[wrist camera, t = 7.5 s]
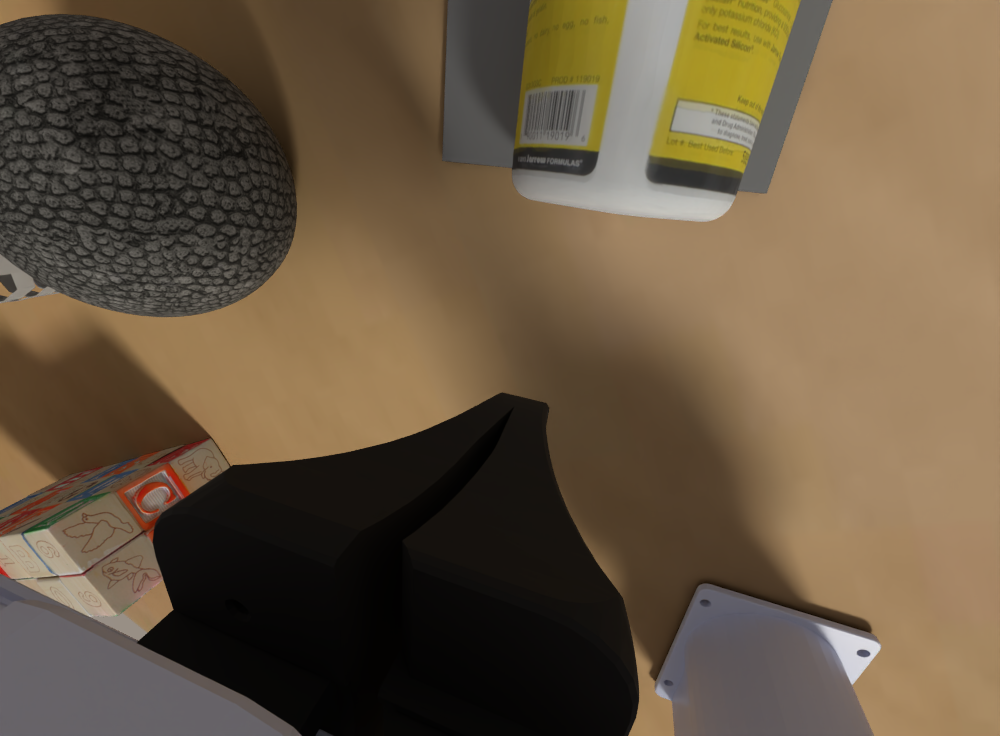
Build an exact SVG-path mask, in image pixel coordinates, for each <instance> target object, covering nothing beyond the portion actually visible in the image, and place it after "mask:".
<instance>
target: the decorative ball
mask: <svg viewBox="0 0 1000 736" xmlns="http://www.w3.org/2000/svg"><path fill="white" fill-rule="evenodd" d="M296 217H297V202H296V192H295V186H294V182H293V177H292V173H291V170H290V167H289V164H288V161H287V159H286V156H285V154H284V152H283V150H282V147H281V145H280V143H279V141H278V140H277V138H276V136H275V134H274V133H273V131H272V129H271V128H270V126H269V125H268V123H267V122H266V120H265V119H264V118H263V116H262V115H261V113H260V112H259V111H258V110H257V108H256V107H255V106H254V105H253V103H252V102H251V101H250V100H249V99H248V98H247V97H246V96H245V95H244V94H243V93H242V92H241V91H240V90H239V89H238V88H237V87H236V86H235V85H234V84H233V83H232V82H231V81H230V80H228V79H227V78H226V77H225V76H224V75H222V74H221V73H220V72H219V71H217V70H216V69H214V68H213V67H212V66H210V65H209V64H208V63H206V62H205V61H203V60H202V59H200V58H199V57H197V56H195V55H194V54H192V53H190V52H189V51H187V50H185V49H184V48H182V47H180V46H178V45H176V44H174V43H172V42H170V41H168V40H166V39H164V38H162V37H159V36H157V35H155V34H152V33H150V32H147V31H145V30H142V29H140V28H137V27H133V26H130V25H127V24H124V23H120V22H116V21H112V20H108V19H103V18H98V17H91V16H84V15H68V14H55V15H41V16H33V17H26V18H21V19H18V20H14V21H11V22H7V23H4V24H1V25H0V254H1V255H2V256H3V257H4V258H6V259H7V260H8V261H9V262H11V263H12V264H13V265H15V266H16V267H17V268H19V269H20V270H22V271H23V272H25V273H26V274H28V275H29V276H31V277H32V278H34V279H36V280H38V281H39V282H41V283H43V284H45V285H46V286H48V287H50V288H52V289H54V290H56V291H58V292H60V293H62V294H64V295H67V296H69V297H71V298H74V299H77V300H79V301H82V302H85V303H88V304H91V305H94V306H97V307H101V308H104V309H108V310H112V311H117V312H122V313H127V314H134V315H140V316H153V317H180V316H190V315H196V314H202V313H207V312H210V311H214V310H217V309H221V308H223V307H226V306H228V305H231V304H233V303H235V302H237V301H239V300H241V299H243V298H245V297H246V296H248V295H249V294H251V293H252V292H254V291H255V290H257V289H258V288H259V287H260V286H262V285H263V284H264V283H265V282H266V281H267V280H268V279H269V278H270V277H271V276H272V275H273V274H274V272H275V271H276V270H277V269H278V267H279V266H280V265H281V263H282V262H283V260H284V259H285V257H286V255H287V253H288V251H289V249H290V246H291V244H292V240H293V237H294V232H295V227H296Z"/></svg>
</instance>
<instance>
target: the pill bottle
mask: <svg viewBox="0 0 1000 736" xmlns="http://www.w3.org/2000/svg"><path fill="white" fill-rule="evenodd" d="M800 1H801V0H530V6H529V15H528V24H527V34H526V43H525V53H524V62H523V72H522V81H521V90H520V100H519V109H518V118H517V127H516V136H515V145H514V152H513V165H512V180H513V184H514V186H515V188H516V190H517V191H518V192H519V193H520V194H521V195H522V196H524V197H525V198H527V199H530V200H535V201H540V202H546V203H552V204H558V205H564V206H570V207H576V208H582V209H588V210H594V211H600V212H607V213H613V214H620V215H630V216H639V217H650V218H662V219H674V220H686V221H699V222H705V221H711V220H715V219H717V218H719V217H720V216H722V215H723V214H724V213H726V212H727V211H728V209H729V208H730V207H731V205H732V203H733V201H734V199H735V197H736V194H737V191H738V188H739V186H740V183H741V180H742V176H743V173H744V171H745V168H746V165H747V162H748V159H749V156H750V153H751V150H752V147H753V144H754V141H755V138H756V135H757V132H758V129H759V125H760V122H761V119H762V116H763V113H764V110H765V107H766V104H767V101H768V98H769V95H770V92H771V89H772V86H773V83H774V80H775V77H776V74H777V71H778V68H779V65H780V63H781V60H782V56H783V53H784V50H785V47H786V44H787V41H788V38H789V35H790V32H791V29H792V26H793V23H794V20H795V17H796V14H797V11H798V8H799V5H800Z"/></svg>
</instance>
